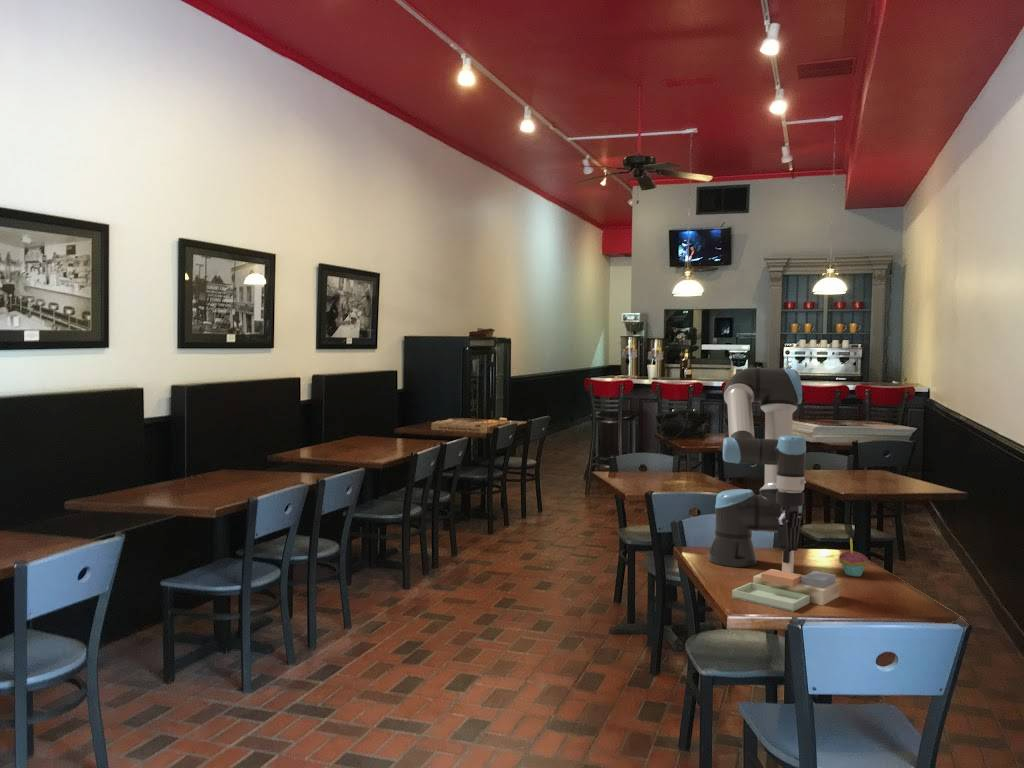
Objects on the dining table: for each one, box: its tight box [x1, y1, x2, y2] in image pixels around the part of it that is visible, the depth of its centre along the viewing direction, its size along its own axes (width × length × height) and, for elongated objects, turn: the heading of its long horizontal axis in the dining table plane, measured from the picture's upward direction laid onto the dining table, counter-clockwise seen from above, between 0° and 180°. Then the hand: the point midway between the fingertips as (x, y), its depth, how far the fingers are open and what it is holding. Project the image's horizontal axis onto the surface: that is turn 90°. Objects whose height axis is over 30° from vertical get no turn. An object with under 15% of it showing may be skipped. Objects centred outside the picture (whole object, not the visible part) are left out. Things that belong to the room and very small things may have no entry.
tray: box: [731, 582, 811, 613], centre depth 226 cm, size 17×11×2 cm, turn 48°
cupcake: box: [838, 538, 869, 577], centre depth 256 cm, size 9×8×12 cm
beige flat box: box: [752, 568, 840, 606], centre depth 233 cm, size 20×12×4 cm, turn 48°
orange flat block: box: [761, 569, 803, 587], centre depth 230 cm, size 9×6×2 cm, turn 49°
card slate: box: [802, 570, 837, 588], centre depth 230 cm, size 9×6×2 cm, turn 138°
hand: (787, 573), depth 233 cm, fingers closed
